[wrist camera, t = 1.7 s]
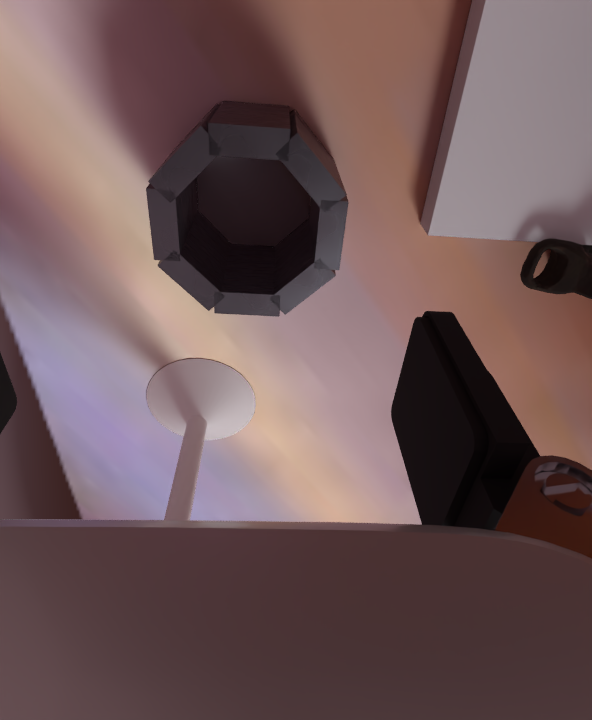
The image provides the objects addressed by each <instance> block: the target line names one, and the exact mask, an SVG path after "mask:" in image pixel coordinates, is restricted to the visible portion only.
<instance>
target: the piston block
mask: <svg viewBox="0 0 592 720" xmlns="http://www.w3.org/2000/svg"><path fill="white" fill-rule="evenodd" d="M420 224H421V225H422V227H423V228H424V230H425V231H426V233H427V234H428V235H432V236H448V237H464V238H481V239H497V240H513V241H529V242H540V241H542V240H545V239H559V240H566V241H571V242H574V243H578V244H581V245H592V0H472V3H471V7H470V11H469V16H468V20H467V24H466V29H465V33H464V37H463V42H462V46H461V50H460V54H459V59H458V63H457V67H456V72H455V76H454V80H453V85H452V89H451V93H450V98H449V102H448V106H447V110H446V115H445V119H444V123H443V128H442V132H441V136H440V141H439V145H438V149H437V154H436V158H435V162H434V167H433V171H432V175H431V179H430V184H429V188H428V192H427V197H426V201H425V205H424V210H423V214H422V218H421V223H420Z"/></svg>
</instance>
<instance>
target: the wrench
mask: <svg viewBox="0 0 592 720" xmlns="http://www.w3.org/2000/svg"><path fill="white" fill-rule="evenodd" d="M547 249H551V254H550V258H549V260H548V262H547V264H546V266H545V268H544V270H543V271H542V272H541V274H540V275H539V276H537V277H536V278H533V274H534V271H535V268H536V266H537V264H538V261H539V260H540V258H541V255H542V253H543V252H544V251H546V250H547ZM520 276H521V281H522V282H523V284H524V285H525V286H526V287H528V288H530V289H534V290H539V291H543V292H547V293H553V294H566V293H577V294H579V295H582V296H585V297H587V298H590V299H592V245H581V244H578V243H574V242H571V241H566V240H559V239H545V240H542V241H540V242H539V243H537V244H535V246H534V247H533V248H532V249H531V250H530V252H529V254H528V256H527V259H526V260H525V262H524V264H523V266H522V270H521V274H520Z"/></svg>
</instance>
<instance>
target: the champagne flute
mask: <svg viewBox="0 0 592 720" xmlns="http://www.w3.org/2000/svg"><path fill="white" fill-rule="evenodd" d="M147 402H148V406H149V409H150V411H151V413H152V414H153V416H154V417H155V418H156V419H157V421H158V422H159V423H160V424H162V425H163V426H164V427H165V428H167V429H168V430H170V431H172V432H173V433H176V434H178V435H180V436H183V442H182V446H181V450H180V455H179V459H178V463H177V467H176V472H175V476H174V480H173V484H172V489H171V493H170V497H169V501H168V506H167V510H166V514H165V518H164V520H180V521H190V516H191V510H192V505H193V499H194V494H195V489H196V483H197V478H198V472H199V467H200V461H201V456H202V450H203V445H204V440H216V439H222V438H225V437H229V436H231V435H233V434H235V433H237V432H239V431H240V430H242V429H243V428H244V427H245V426H246V425H247V424H248V423H249V422H250V420H251V419H252V416H253V414H254V411H255V406H256V403H255V395H254V392H253V389H252V388H251V386H250V384H249V383H248V381H247V380H246V379H245V378H244V377H243V376H242V375H241V374H240V373H238V372H237V371H235V370H234V369H233V368H231V367H229V366H227V365H225V364H222V363H219V362H216V361H212V360H206V359H185V360H180V361H176V362H174V363H171V364H168V365H167V366H165V367H163V368H162V369H160V370H159V371H158V372H157V373H156V374H155V375H154V376H153V378H152V379H151V381H150V383H149V385H148V389H147Z"/></svg>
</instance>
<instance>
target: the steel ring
mask: <svg viewBox="0 0 592 720" xmlns="http://www.w3.org/2000/svg"><path fill="white" fill-rule="evenodd" d="M217 156H227V157H241V158H255V159H269V160H281V161H282V163H283V164H284V165H285V166H286V167H287V169H288V170H289V171H290V172H291V173H292V174H293V176H294V177H295V178H296V179H297V180H298V182H299V183H300V184H301V185H302V186H303V188H304V189H305V190H306V191H307V192H308V193H309V195H310V196H311V199H310V210H309V218H308V219H307V220H306V221H305V222H304V223H302V224H301V225H300V226H299V227H298V228H297V229H295V230H294V231H293V232H292V233H291V234H290V235H288V236H287V237H286V238H285V239H284V240H282V241H281V242H280V243H279V244H278V245H277V246H275V247H274V246H257V245H240V244H231V243H230V242H229V241H228V240H227V239H226V238H225V237H224V236H223V235H222V234H221V233H220V232H219V231H218V230H217V229H216V228H215V227H214V226H213V225H212V224H211V223H210V222H209V221H208V220H207V219H206V218H205V217H204V216H203V215H202V214H201V213H200V212H199V210H198V190H197V176H198V175H199V174H200V173H201V172H202V171H203V170H204V169H205V168H206V167H207V166H208V165H209V164H210V163H211V162H212V161H213V160H214V159H215V158H216V157H217ZM148 182H149V183H150V184H149V185H148V187H147V188H146V192H147V201H148V210H149V218H150V227H151V236H152V245H153V254H154V260H160V262H159V264H158V267H159V268H161V269H162V270H163V271H164V272H165V273H166V274H167V275H169V276H170V277H171V278H172V279H173V280H174V281H175V282H177V283H178V284H179V285H180V286H181V287H182V288H183V289H184V290H186V291H187V292H188V293H189V294H190V295H191V296H192V297H194V298H195V299H196V300H197V301H198V302H199V303H200V304H202V305H203V306H204V307H205V308H206V309H207V310H208V311H209V310H210V309H211V308H213V307H214V309H215V313H221V314H241V315H261V316H279V313H280V310H281V311H282V312H283V313H284V314H287V313H288V312H289V311H291V310H292V309H293V308H294V307H296V306H297V305H298V304H300V303H301V302H302V301H304V300H305V299H306V298H307V297H309V296H310V295H311V294H313V293H314V292H315V291H317V290H318V289H319V288H320V287H322V286H323V285H324V284H326V283H327V282H328V281H330V280H331V279H332V278H333V277H335V276H336V274H335V270H339V267H340V260H341V252H342V245H343V238H344V230H345V223H346V216H347V208H348V199H347V196H346V195H347V194H346V192H345V189H344V186H343V183H342V181H341V178H340V175H339V172H338V170H337V167H336V164H335V161H334V160H333V158H332V157H331V156H330V154H329V153H328V152H327V151H326V149H325V148H324V147H323V145H322V144H321V143H320V141H319V140H318V139H317V138H316V136H315V135H314V134H313V132H312V131H311V130H310V129H309V127H308V126H307V125H306V123H305V122H304V121H303V120H302V118H301V117H300V116H299V114H298V113H297V112H296V111H295V109H294V110H293V111H292V112H291V113H290V114H289V106H284V105H271V104H258V103H245V102H232V101H223V102H222V104H221V105H219V104H218V103H217V104H216V105H215V107H214V108H213V109H212V110H211V111H210V112H209V113H208V114H207V115H206V116H205V117H204V118H203V119H202V120H201V121H200V123H199V124H198V125H197V126H196V127H195V128H194V129H193V130H192V131H191V132H190V133H189V134H188V135H187V136H186V138H185V139H184V140H183V141H182V142H181V143H180V144H179V145H178V146H177V147H176V148H175V149H174V151H173V152H172V153H171V154H170V155H169V157H168V158H167V159H166V160H165V162H164V163H163V164H162V165H161V167H160V168H159V169H158V170H157V171H156V173H155V174H154V175H153V176H152V178H151V179H150V180H149V181H148Z"/></svg>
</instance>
